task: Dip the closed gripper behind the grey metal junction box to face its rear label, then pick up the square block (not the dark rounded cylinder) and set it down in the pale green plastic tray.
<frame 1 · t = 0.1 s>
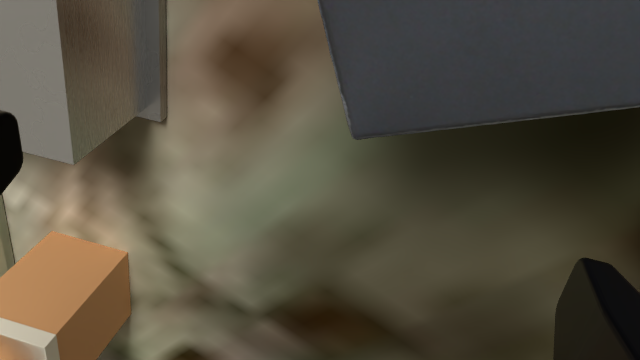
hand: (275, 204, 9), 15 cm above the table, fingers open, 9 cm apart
square block: (92, 273, 33), on the table
junction box: (24, 7, 26), on the table
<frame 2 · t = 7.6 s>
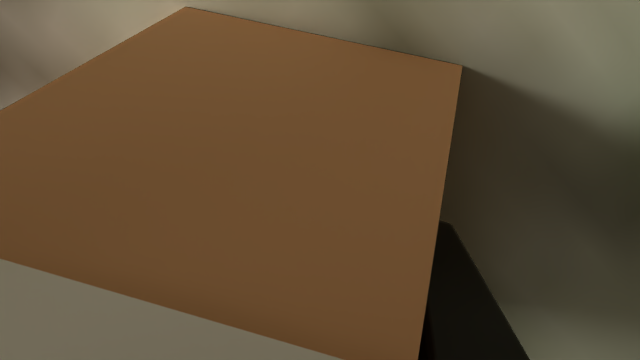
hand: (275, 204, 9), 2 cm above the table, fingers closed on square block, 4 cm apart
square block: (302, 158, 11), on the table, touching gripper
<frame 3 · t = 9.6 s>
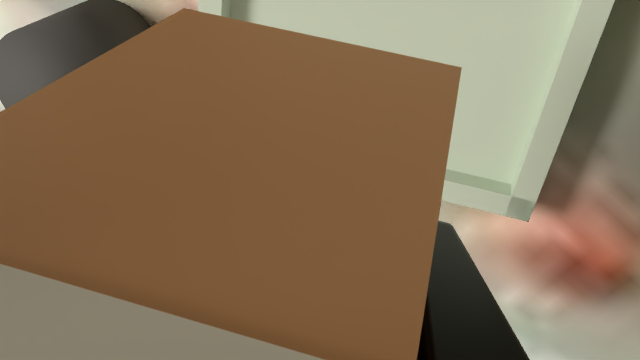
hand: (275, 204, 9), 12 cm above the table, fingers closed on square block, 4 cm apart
square block: (301, 160, 10), point 10 cm above the table, touching gripper
tray: (390, 13, 19), on the table
dark rounded cylinder: (114, 51, 22), on the table
when the fingers open (3 cm above the table, at t = 11.5 s): square block stays where it is, resting on tray.
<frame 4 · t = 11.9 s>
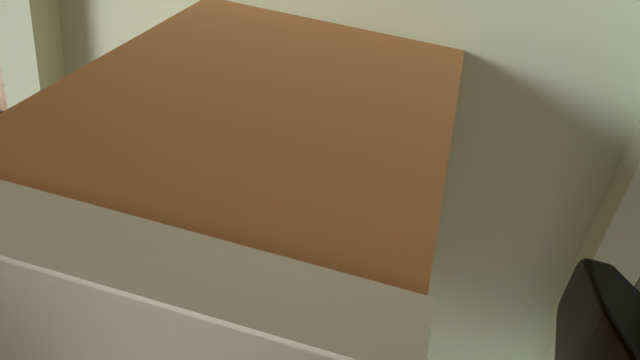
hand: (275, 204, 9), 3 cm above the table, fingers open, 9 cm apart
square block: (314, 139, 11), point 1 cm above the table, touching tray
tray: (322, 126, 12), on the table
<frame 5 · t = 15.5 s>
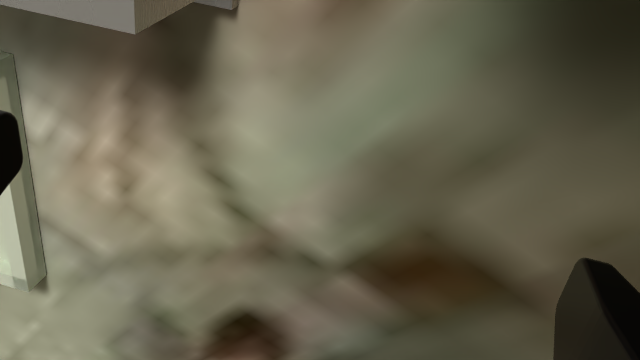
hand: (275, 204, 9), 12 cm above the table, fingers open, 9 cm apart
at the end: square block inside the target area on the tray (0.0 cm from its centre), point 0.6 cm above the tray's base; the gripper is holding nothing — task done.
